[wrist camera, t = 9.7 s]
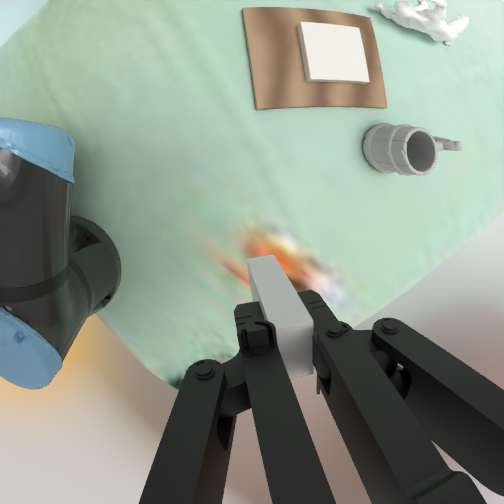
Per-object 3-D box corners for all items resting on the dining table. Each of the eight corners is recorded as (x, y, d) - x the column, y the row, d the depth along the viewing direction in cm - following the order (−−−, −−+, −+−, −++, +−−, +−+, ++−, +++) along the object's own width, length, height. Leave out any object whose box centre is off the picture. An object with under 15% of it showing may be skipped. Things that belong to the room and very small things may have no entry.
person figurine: (461, -17, 19) (429, -10, 18) (487, 43, 26) (463, 70, 25) (408, -9, 30) (363, 6, 29) (434, 43, 37) (398, 70, 36)
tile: (310, 79, 31) (369, 82, 32) (300, 21, 28) (359, 27, 29) (305, 82, 33) (363, 84, 34) (296, 26, 30) (353, 31, 31)
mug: (355, 128, 37) (404, 125, 26) (412, 117, 38) (463, 116, 26) (366, 176, 40) (415, 189, 29) (421, 161, 40) (471, 170, 29)
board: (256, 110, 35) (257, 109, 34) (241, 11, 29) (242, 7, 28) (383, 108, 37) (387, 107, 35) (366, 19, 31) (370, 17, 30)
